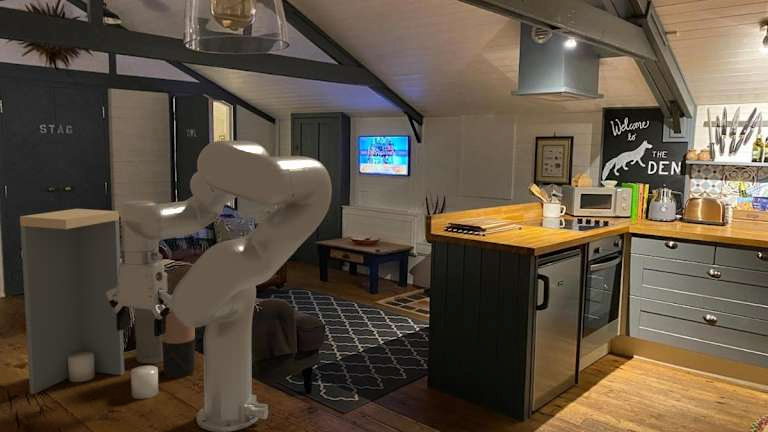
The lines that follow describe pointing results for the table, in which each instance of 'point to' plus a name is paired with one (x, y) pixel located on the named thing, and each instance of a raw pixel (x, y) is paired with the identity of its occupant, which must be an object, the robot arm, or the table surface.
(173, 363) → the travel mug
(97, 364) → the counter
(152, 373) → the cream smooth rounded cylinder
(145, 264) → the robot arm
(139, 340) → the thermos bottle
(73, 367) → the cream rounded knob
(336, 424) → the table surface
